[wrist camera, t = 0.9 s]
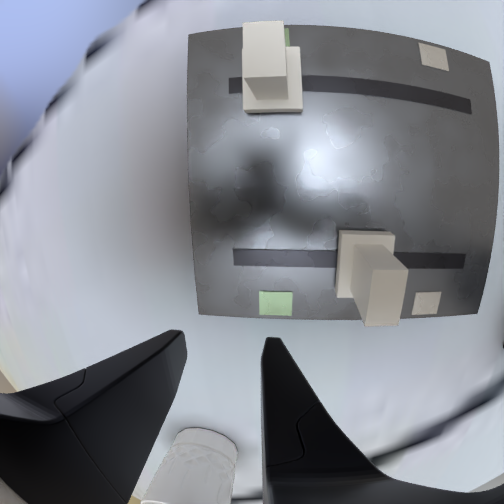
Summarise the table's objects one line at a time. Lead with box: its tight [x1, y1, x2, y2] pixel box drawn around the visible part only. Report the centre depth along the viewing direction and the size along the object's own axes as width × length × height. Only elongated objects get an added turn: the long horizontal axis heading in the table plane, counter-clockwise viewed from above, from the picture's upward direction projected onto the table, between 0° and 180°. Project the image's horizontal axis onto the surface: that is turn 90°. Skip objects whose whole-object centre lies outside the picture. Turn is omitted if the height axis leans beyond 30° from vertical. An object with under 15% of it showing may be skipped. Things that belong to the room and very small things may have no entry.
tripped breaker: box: [335, 230, 408, 326], centre depth 14 cm, size 3×4×5 cm
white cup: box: [140, 428, 238, 504], centre depth 21 cm, size 8×8×10 cm
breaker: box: [242, 21, 303, 113], centre depth 11 cm, size 3×4×5 cm
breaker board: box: [187, 25, 499, 320], centre depth 16 cm, size 20×18×2 cm
